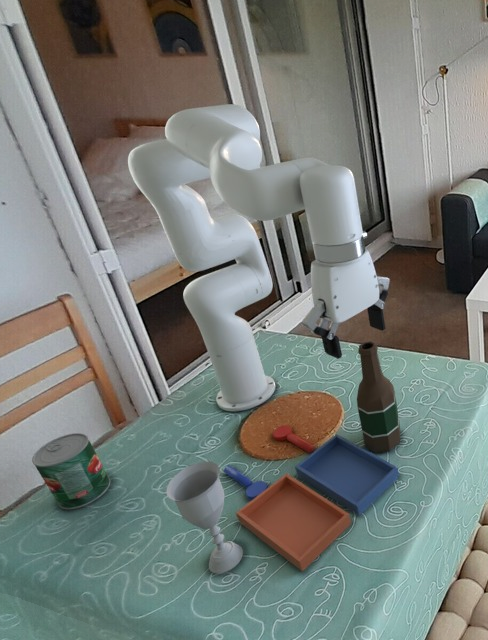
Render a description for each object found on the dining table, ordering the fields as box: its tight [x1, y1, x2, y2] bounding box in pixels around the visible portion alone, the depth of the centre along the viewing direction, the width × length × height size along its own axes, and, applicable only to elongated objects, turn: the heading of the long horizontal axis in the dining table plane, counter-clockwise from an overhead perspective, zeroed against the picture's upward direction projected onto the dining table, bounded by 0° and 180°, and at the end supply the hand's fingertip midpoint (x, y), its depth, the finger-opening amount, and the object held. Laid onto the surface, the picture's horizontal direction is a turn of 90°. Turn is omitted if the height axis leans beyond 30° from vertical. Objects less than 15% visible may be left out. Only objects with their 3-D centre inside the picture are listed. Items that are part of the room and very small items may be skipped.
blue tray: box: [294, 433, 400, 517], centre depth 96 cm, size 17×10×2 cm, turn 58°
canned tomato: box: [31, 432, 111, 510], centre depth 92 cm, size 8×8×11 cm
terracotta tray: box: [235, 473, 352, 572], centre depth 87 cm, size 17×10×2 cm, turn 58°
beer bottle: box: [356, 341, 401, 454], centre depth 100 cm, size 8×8×24 cm
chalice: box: [166, 460, 244, 575], centre depth 78 cm, size 7×7×18 cm
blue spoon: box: [223, 465, 269, 501], centre depth 95 cm, size 12×4×2 cm, turn 58°
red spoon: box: [272, 425, 315, 454], centre depth 105 cm, size 12×4×2 cm, turn 58°
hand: (357, 341), depth 85 cm, fingers open, 9 cm apart
